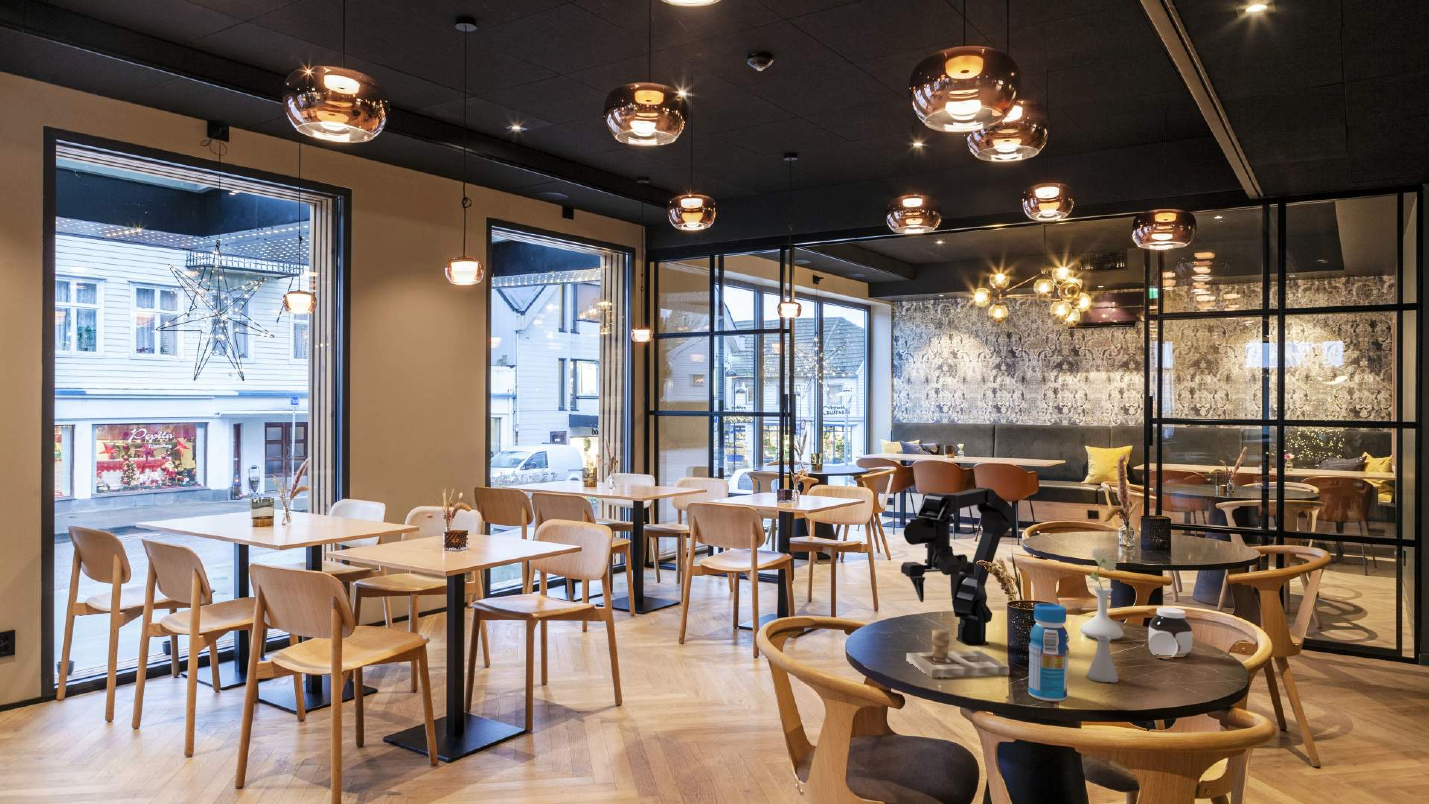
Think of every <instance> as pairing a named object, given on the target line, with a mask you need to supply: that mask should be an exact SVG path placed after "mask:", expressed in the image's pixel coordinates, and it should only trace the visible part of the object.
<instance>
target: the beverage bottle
mask: <svg viewBox="0 0 1429 804" xmlns="http://www.w3.org/2000/svg"><path fill="white" fill-rule="evenodd" d="M1033 619H1034V621H1035V622H1036V623H1034V625H1033V626H1032V628H1031V630H1030V632H1029V633H1030V634H1029V638H1030V640H1031V641H1030V642H1029V644H1028V651H1029V653H1028V657H1029V658H1028V659H1029V662H1028V687H1027V688H1028V689H1027V692H1028V694H1029V695H1030V696H1031V697H1032V698H1035V699H1037V700H1041V701H1045V702H1062V700H1063V701H1066V699H1067V698H1068V676H1069V675H1068V673H1069V656H1070V648H1069V646H1068V643H1069V641H1070V637H1069V634H1068V631H1067V629H1066V627H1065V626H1064V625H1065V624H1066V621H1067V608H1066V607H1065V606H1064V605H1060V604H1056V603H1046V602H1045V603H1043V602H1042V603H1037V604H1035V605H1034V606H1033Z"/></svg>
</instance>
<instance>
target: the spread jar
mask: <svg viewBox="0 0 1429 804" xmlns="http://www.w3.org/2000/svg"><path fill="white" fill-rule="evenodd" d="M1186 617H1187V616H1186V611H1185V610H1183V609H1179V608H1174V607H1164V606H1163V607H1161V606H1160V607H1157V608H1156V615H1155V616H1154V617H1153V618H1152V619H1151V620H1150V622H1149V625H1148V637H1147V638H1148V648H1149V651H1150V653H1151V654H1152V655H1153V656H1154V655H1155V654H1159V655H1172V656H1171V657H1174V656H1175V655H1176V654H1177V653H1179V654H1180V653H1189V654H1190V653H1191V651H1192V648H1193V638H1194V637H1193V633H1194V632H1193V628H1192V626H1191V624H1190V622H1189V621H1188V620H1187V619H1186Z"/></svg>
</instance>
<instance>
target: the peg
mask: <svg viewBox="0 0 1429 804" xmlns="http://www.w3.org/2000/svg"><path fill="white" fill-rule="evenodd" d="M931 632H932V634H931V645H932V651H931V652H932V656H933V657H934V659H933V662H934V663H946V658H947V657H948V652H949V645H950V631H949V630H946V629H939V628H938V629H932V631H931Z"/></svg>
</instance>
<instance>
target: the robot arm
mask: <svg viewBox="0 0 1429 804" xmlns="http://www.w3.org/2000/svg"><path fill="white" fill-rule="evenodd" d="M925 496H926V497H924V499H923V502H922V503H921V505H920V507H919V509H918V511H917V513H916V515H915V517H910V519H909V523H907V524H906V526H905V527H904V529H903V536H904V537H903V538H904V539H905V541H906V542H907V544H909V545H911V546H915V545H917V546H918V545H922V544H924V548H926V549H927V550H926V558H924V564H922V563H920V562H917V561H905V562H904V561H903V563H902V564H901V566H900V573H901V574H904V575H905V576H906V577H908V578H909V579H910V582H911V583H912V584H913V588H914V589H915V592H916V594H917V597H918V599H919V602H920V603H924V599H925V591H924V590H925V589H924V587H925V586H924V582H925V580H926V577H925V576H924V575H926V574H925V573H934V572H936V573H938V572H941V574H943V575H944V576H950V595H951V605H952V609H953V612H954V613H953V614H954V617H955V618H959V623H957V636H956V638H955V639H956V641H959V642H961V643H963V644H964V645H966V646H971V645H972V646H973V645H974V646H975V645H977V646H978V645H979V646H980V645H989V642H988V641H987V639H986V633H987V624H988V623H989V622H991V621H992V618H993V612H992V611H991V608H989V606H988V605H987V600H988V594H987V591H986V587H985V586H986V583H987V582H988V581H987V580H988V577H989V574H990V571H987V569H985V567H984V566H982V565H979V563H980V562H978V565H979V566H978V565H977V564H976V562H977V561H979V560H984V561H987V562H991V563H992V564H993V562H994V559H995V556H996V554H997V550H998V548H999V544H1000V541H1001V538H1002V537H1003V536H1004V535H1006V533H1007V532H1008V531H1010V529H1011V527H1012V525H1013V523H1014V520H1015V518H1016V513H1015V510H1014V509H1013V506H1012V505H1010V504H1009V502H1008V501H1007V500H1005V499H1004V498H1002V497H1001V496H1000V495H999V494H997V492H996V491H995V490H994V489H993V488H988V487H975V488H973V489H967V490H963V491H957V492H953V493H944V492H931V491H930V492H928V493H926V495H925ZM973 506H976V510H977V511H978V512H979V514H981V515H980V524H981V528H982V532H981V536H980V538H979V542H978V545H977V547H976V550H975V554H974V557H973V559H972V562H971V561H969V560H968V556H967V554H964V553H963V554H958V555H957V554H956V555H954V550H953V546H952V545H951V542H950V541H951V536H950V535H951V524H955V523H956V520H955V519H954V518H953V517H952V515H954V514H957V512H958V511H959V510H960V509H965V508H969V507H973ZM981 563H985V562H981ZM987 564H988V563H987Z"/></svg>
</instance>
